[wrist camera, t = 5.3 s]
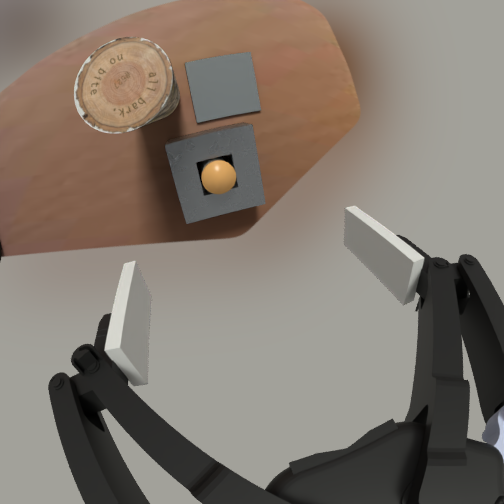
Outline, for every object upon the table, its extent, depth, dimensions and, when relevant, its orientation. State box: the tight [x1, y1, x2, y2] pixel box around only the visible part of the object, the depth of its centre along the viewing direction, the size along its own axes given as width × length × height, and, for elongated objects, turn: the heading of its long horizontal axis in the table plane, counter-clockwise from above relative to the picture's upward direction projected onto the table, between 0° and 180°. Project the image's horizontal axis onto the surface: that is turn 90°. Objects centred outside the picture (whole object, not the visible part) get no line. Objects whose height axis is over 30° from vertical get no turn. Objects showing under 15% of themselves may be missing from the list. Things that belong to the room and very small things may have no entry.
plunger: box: [201, 157, 236, 194], centre depth 38 cm, size 5×5×7 cm
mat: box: [185, 52, 261, 123], centre depth 35 cm, size 10×10×1 cm
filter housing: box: [165, 122, 265, 224], centre depth 39 cm, size 12×12×6 cm
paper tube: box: [74, 37, 180, 133], centre depth 24 cm, size 7×7×25 cm
